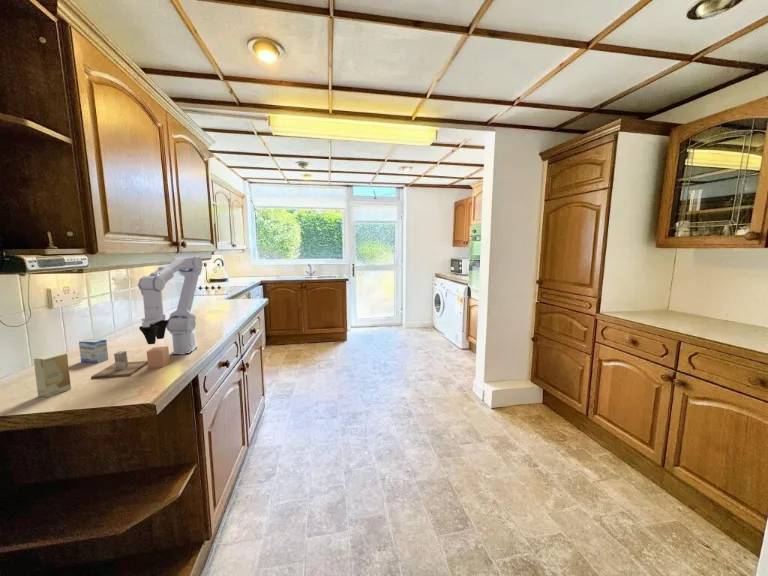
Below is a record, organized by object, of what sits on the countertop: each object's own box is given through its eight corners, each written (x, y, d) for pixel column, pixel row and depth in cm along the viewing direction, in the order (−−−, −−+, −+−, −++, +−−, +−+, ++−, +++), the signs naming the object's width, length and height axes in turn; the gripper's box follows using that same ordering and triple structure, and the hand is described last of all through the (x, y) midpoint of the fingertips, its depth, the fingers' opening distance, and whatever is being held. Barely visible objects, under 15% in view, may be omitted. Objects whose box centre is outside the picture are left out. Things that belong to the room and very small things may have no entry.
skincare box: (47, 397, 94) (42, 359, 92) (37, 396, 95) (31, 358, 93) (72, 388, 100) (67, 352, 98) (62, 387, 101) (57, 351, 99)
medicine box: (80, 362, 123) (77, 341, 122) (92, 358, 127) (89, 338, 126) (97, 363, 122) (95, 342, 121) (109, 359, 127) (106, 339, 125)
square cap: (155, 363, 122) (153, 347, 121) (169, 362, 123) (168, 346, 123) (148, 367, 117) (146, 351, 116) (163, 366, 118) (161, 350, 118)
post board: (114, 365, 120) (112, 348, 119) (149, 362, 123) (147, 345, 122) (91, 378, 107) (88, 359, 107) (130, 375, 110) (128, 357, 109)
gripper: (150, 304, 123) (152, 337, 124) (131, 310, 109) (134, 347, 111) (170, 303, 125) (172, 336, 126) (153, 309, 111) (156, 345, 112)
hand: (156, 341), depth 119 cm, fingers open, 7 cm apart
